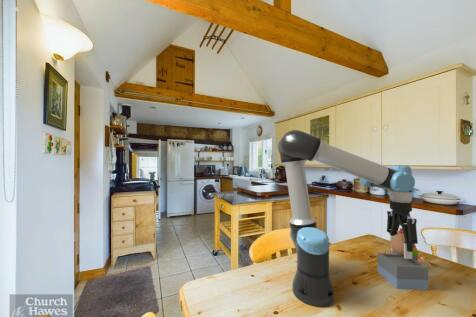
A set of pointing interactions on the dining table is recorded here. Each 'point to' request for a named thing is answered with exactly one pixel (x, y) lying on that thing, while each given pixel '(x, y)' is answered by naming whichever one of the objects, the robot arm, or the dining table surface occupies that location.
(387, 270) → the grey square tray
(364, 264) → the dining table surface
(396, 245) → the egg
